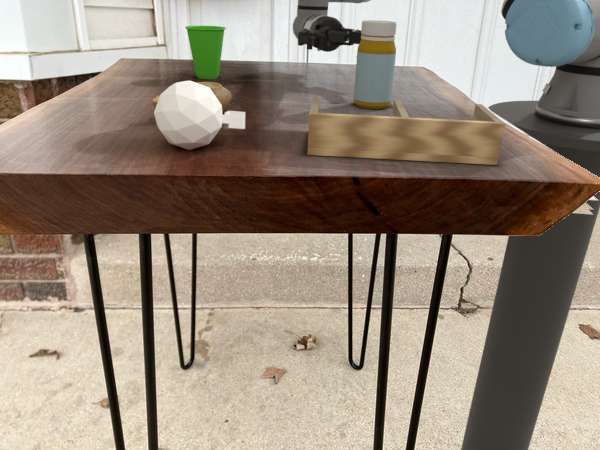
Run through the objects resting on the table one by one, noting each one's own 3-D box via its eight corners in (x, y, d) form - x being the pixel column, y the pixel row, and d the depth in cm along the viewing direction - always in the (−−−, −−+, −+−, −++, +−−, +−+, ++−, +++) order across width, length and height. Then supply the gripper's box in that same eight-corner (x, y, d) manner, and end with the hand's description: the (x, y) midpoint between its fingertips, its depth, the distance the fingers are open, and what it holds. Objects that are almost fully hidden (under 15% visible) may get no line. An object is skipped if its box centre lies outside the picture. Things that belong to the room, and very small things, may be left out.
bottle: (392, 103, 103) (401, 21, 97) (386, 111, 97) (395, 23, 90) (357, 100, 105) (364, 19, 98) (349, 107, 99) (356, 21, 92)
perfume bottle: (159, 147, 65) (252, 151, 70) (159, 71, 64) (253, 80, 69) (148, 149, 73) (233, 153, 77) (149, 81, 72) (234, 90, 77)
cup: (229, 80, 120) (228, 29, 116) (189, 80, 118) (186, 28, 114) (224, 74, 128) (223, 25, 124) (186, 74, 126) (183, 25, 121)
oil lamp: (149, 125, 82) (146, 92, 79) (179, 105, 94) (177, 77, 92) (216, 129, 81) (215, 96, 78) (237, 109, 94) (236, 80, 91)
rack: (475, 140, 80) (482, 104, 78) (497, 165, 69) (505, 123, 67) (311, 132, 81) (313, 96, 79) (307, 155, 70) (309, 114, 68)
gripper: (371, 50, 128) (412, 63, 109) (271, 49, 121) (296, 63, 103) (374, 17, 125) (417, 24, 106) (272, 14, 118) (298, 22, 99)
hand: (358, 43), depth 104 cm, fingers open, 13 cm apart
